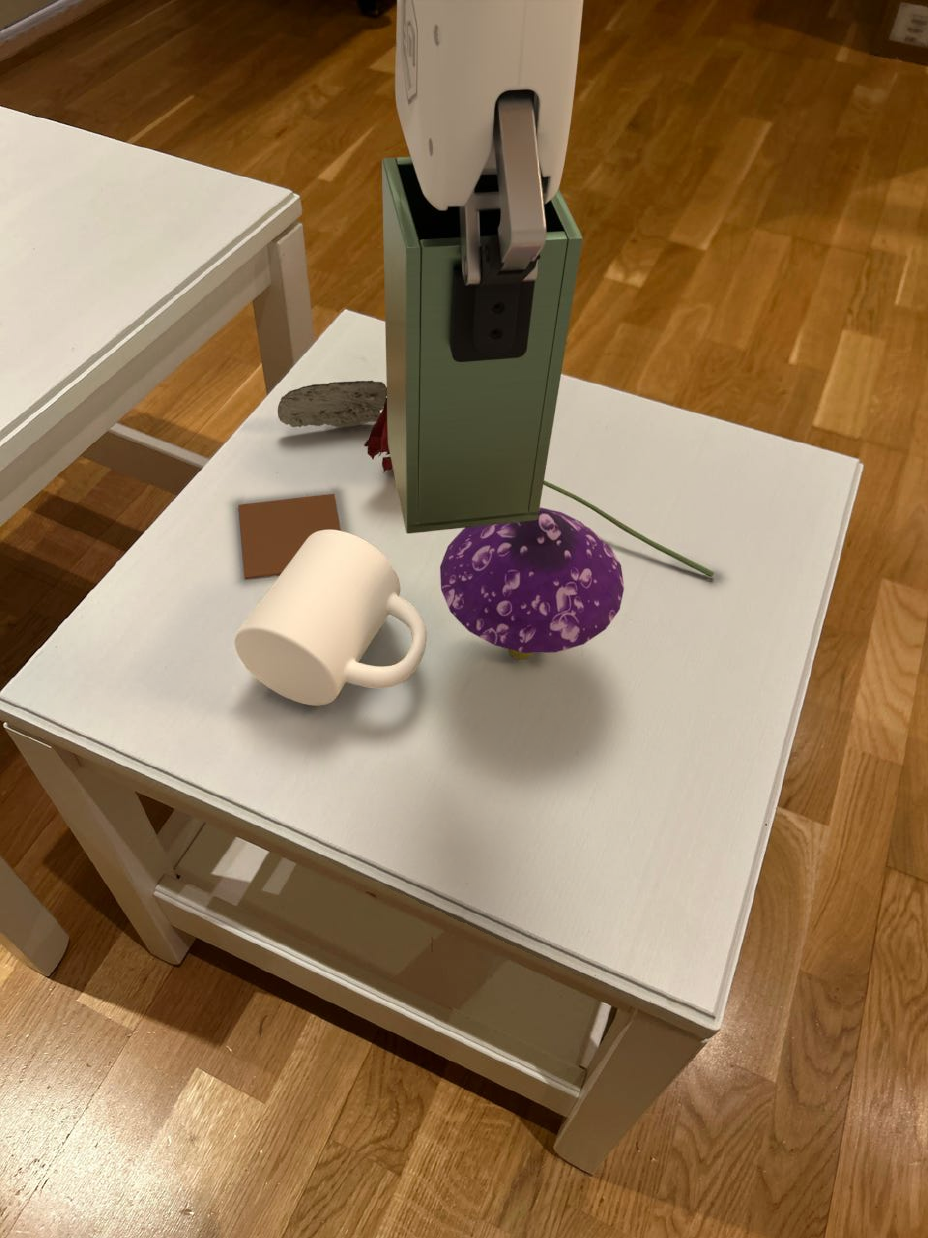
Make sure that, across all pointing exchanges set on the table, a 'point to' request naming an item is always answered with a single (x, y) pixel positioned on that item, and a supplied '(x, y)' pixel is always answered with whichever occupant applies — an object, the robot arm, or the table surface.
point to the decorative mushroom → (532, 583)
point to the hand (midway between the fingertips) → (470, 299)
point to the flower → (380, 444)
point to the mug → (328, 621)
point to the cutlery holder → (466, 366)
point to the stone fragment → (333, 404)
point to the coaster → (281, 530)
